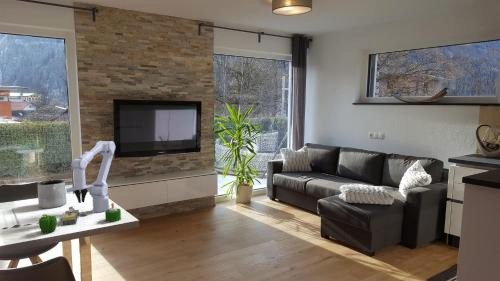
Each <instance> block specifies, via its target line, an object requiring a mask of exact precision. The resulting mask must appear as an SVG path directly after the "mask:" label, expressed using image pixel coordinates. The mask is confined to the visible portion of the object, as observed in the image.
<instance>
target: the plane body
mask: <svg viewBox="0 0 500 281" xmlns="http://www.w3.org/2000/svg"><path fill="white" fill-rule="evenodd" d="M68 211H69V210H65V211H64V212H65V213H64V214H68ZM73 213H76V217H75V219H74V220H65V221H63V218H62V220H61V226H69V225H77V222H78V219H79V216H80V210H79V209H74V211H73Z"/></svg>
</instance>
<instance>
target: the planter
mask: <svg viewBox="0 0 500 281" xmlns="http://www.w3.org/2000/svg"><path fill="white" fill-rule="evenodd" d="M37 197H38V198H37V200H38V207H40V208H41V209H54V208H60V207H62V206H64V205H66V204H67V189H66V181H65V180H64V179H50V180H44V181H43V180H42V181H40V182H37Z"/></svg>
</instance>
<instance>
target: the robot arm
mask: <svg viewBox="0 0 500 281" xmlns="http://www.w3.org/2000/svg"><path fill="white" fill-rule="evenodd" d="M115 151H116V144H115V142H114V141H113V140H110V141H109V140H107V141H105V140H98V141H97V142H96V143H95V146H93V147H92V149H90V150H89V151H84V152H83V153H82V155H79V156H78V157H77V158H74V159H73V160H72V161H71V165H70V166H71V168H72V171H73V175H74V176H73V177H74V178H73V179H74V186H73V187H69V188H66V193H71V192H73V193H74V195H75V196H76V199H77V202H78V203H79V204H81V203H85V201H86V200H85V199H86V196H87V193H89V195H90V196H91V199H92V212H91V213H93V214H95V213H102V212H104V213H105V211H106V210H108V209H109V208H110V204H109V195H108V191H109V189H108V188H109V184H107V178H108V174H109V171H110V167H111V164H112V160H113V158H114V153H115ZM97 154H100V155H101V156H102V161H101V164H100V168H99V170H98V174H97V177H96V180H95V181H94V182H93V181H92V183H91V184H86V183H87V182H86V168H87V166H88V164H89V163H90V162H92V160H94V156H96V155H97Z"/></svg>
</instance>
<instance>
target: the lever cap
mask: <svg viewBox="0 0 500 281" xmlns="http://www.w3.org/2000/svg"><path fill="white" fill-rule="evenodd" d="M75 217H76V213H69V214H65V213H63V216H62V219H63V221H65V220H74V219H75Z"/></svg>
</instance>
